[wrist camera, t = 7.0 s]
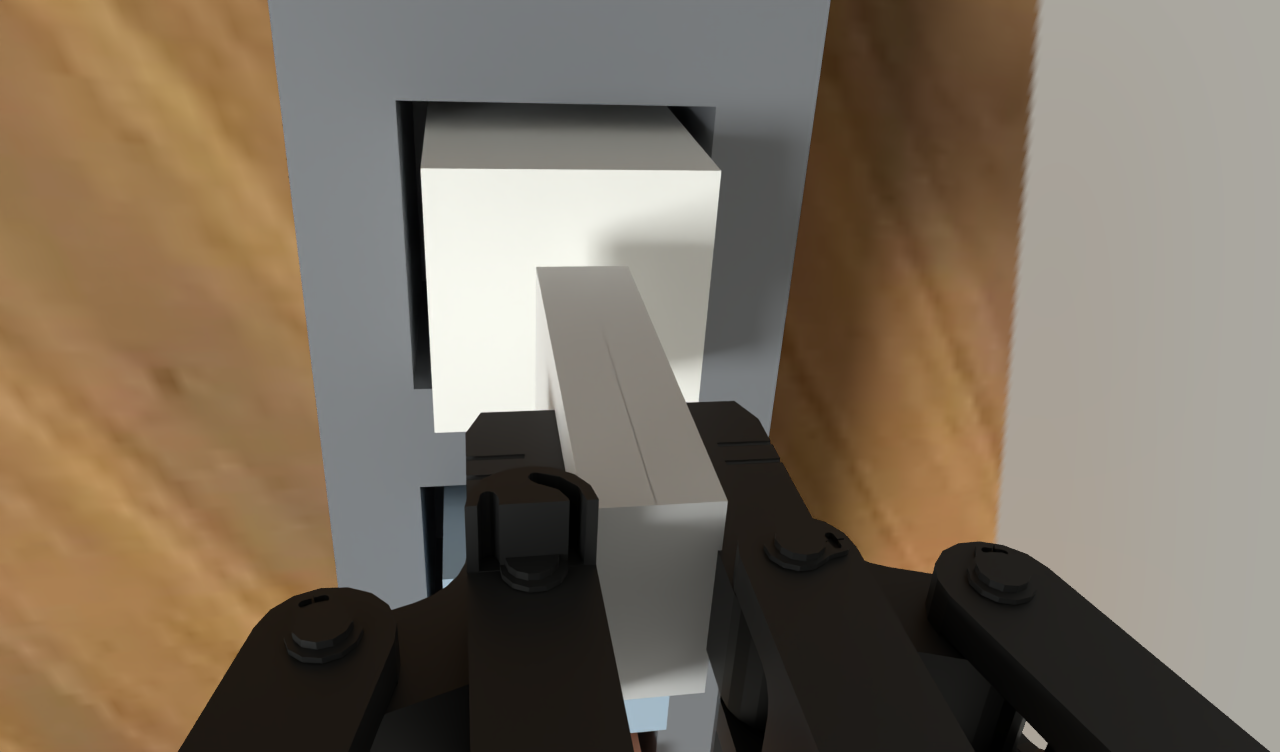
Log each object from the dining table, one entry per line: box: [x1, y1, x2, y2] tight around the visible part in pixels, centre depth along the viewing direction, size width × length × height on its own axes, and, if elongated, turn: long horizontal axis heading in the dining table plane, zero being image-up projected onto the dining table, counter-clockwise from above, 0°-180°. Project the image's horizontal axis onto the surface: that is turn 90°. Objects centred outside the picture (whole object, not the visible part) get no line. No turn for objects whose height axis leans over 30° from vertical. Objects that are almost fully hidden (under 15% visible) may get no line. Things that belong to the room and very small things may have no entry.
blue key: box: [442, 485, 669, 733], centre depth 23 cm, size 5×5×5 cm
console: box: [268, 0, 831, 752], centre depth 26 cm, size 28×10×6 cm, turn 177°
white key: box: [421, 101, 721, 433], centre depth 19 cm, size 5×5×5 cm
